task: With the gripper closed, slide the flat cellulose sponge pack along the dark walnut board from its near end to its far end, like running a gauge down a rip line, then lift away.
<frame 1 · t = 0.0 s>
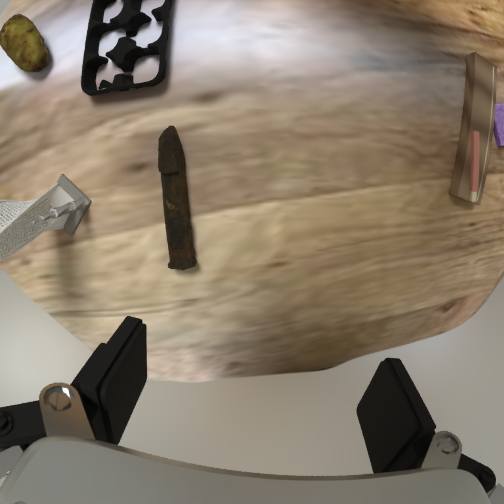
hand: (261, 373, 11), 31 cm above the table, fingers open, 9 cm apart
carpenters pencil: (473, 161, 34), resting on walnut board
walnut board: (473, 126, 35), on the table
hand tool: (176, 196, 41), on the table
potato: (36, 48, 32), on the table
skyscraper: (63, 205, 41), on the table
black openwork frame: (136, 9, 32), on the table
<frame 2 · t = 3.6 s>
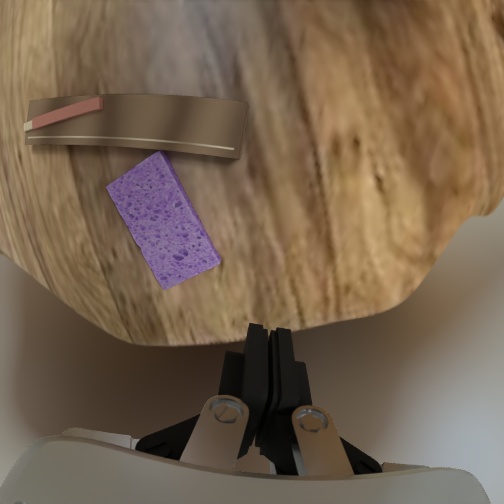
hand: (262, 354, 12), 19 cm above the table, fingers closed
carpenters pencil: (66, 113, 24), resting on walnut board
walnut board: (125, 121, 26), on the table
sponges: (165, 218, 30), on the table
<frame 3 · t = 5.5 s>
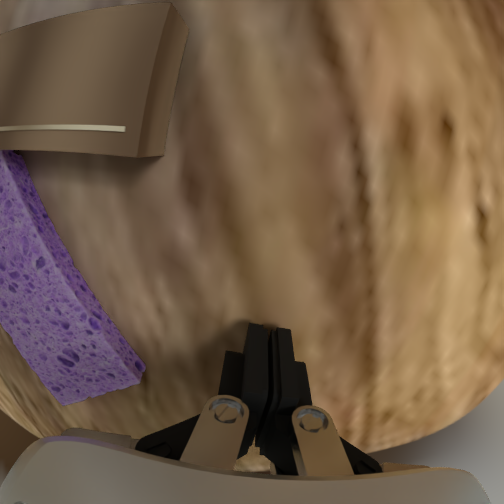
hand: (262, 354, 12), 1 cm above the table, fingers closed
sponges: (43, 283, 13), on the table
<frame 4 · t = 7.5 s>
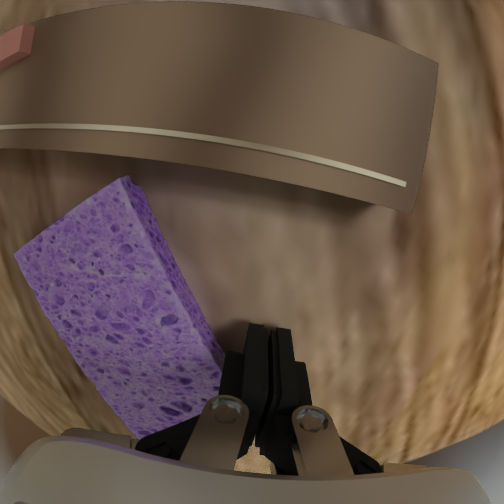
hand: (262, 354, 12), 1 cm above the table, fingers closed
walnut board: (88, 86, 9), on the table
sponges: (142, 328, 13), on the table
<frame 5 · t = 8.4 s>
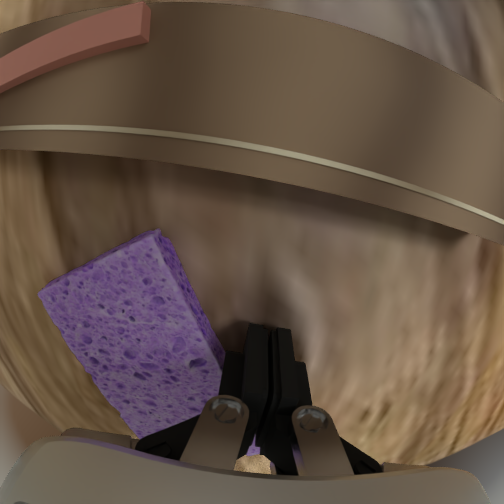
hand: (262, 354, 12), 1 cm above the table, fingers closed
carpenters pencil: (35, 62, 7), resting on walnut board
walnut board: (205, 92, 10), on the table
sponges: (166, 362, 14), on the table, touching gripper
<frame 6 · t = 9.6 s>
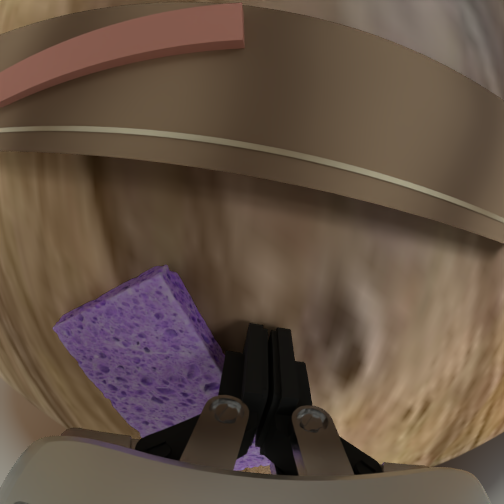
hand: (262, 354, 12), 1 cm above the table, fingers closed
carpenters pencil: (96, 55, 7), resting on walnut board
walnut board: (285, 105, 10), on the table
sponges: (181, 384, 15), on the table
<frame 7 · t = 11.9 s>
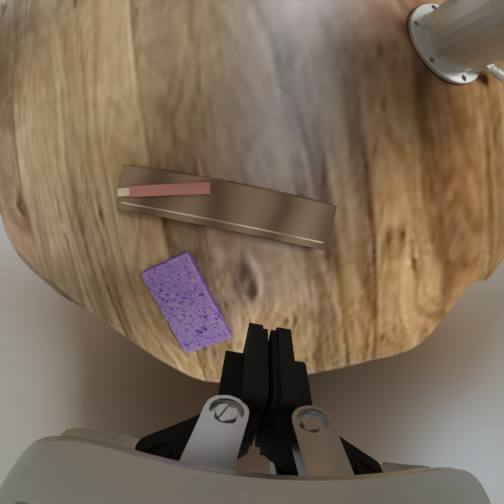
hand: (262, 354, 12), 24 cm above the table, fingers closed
carpenters pencil: (169, 189, 32), resting on walnut board
walnut board: (224, 202, 35), on the table
sponges: (188, 300, 39), on the table
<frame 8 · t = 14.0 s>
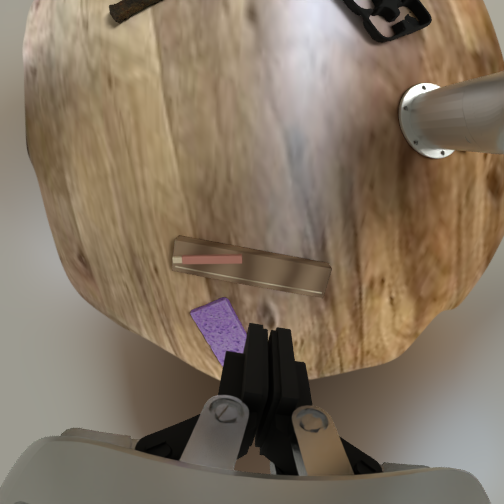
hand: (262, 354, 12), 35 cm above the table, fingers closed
carpenters pencil: (212, 258, 46), resting on walnut board
walnut board: (251, 264, 48), on the table
sponges: (224, 329, 53), on the table
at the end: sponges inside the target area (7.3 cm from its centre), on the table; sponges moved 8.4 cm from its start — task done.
